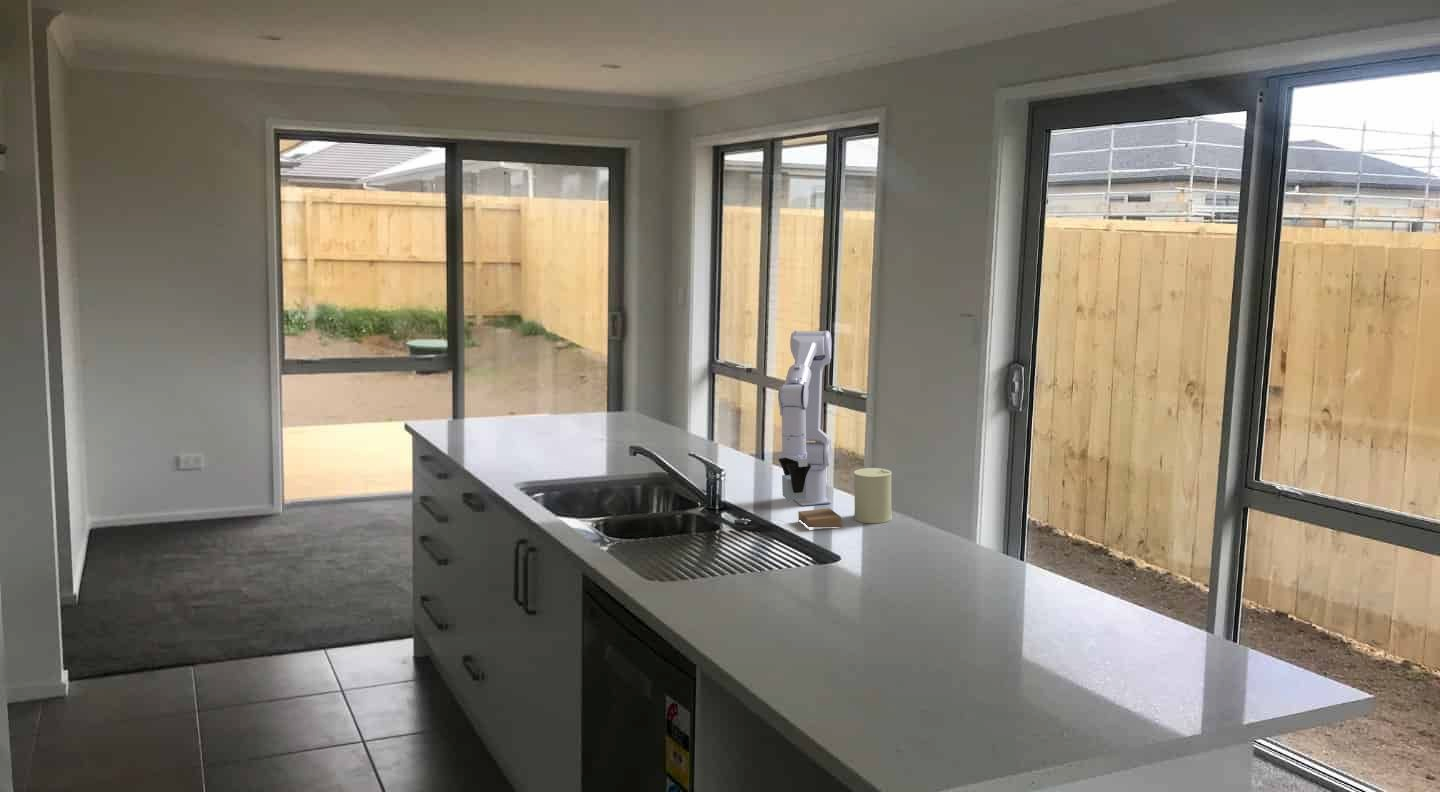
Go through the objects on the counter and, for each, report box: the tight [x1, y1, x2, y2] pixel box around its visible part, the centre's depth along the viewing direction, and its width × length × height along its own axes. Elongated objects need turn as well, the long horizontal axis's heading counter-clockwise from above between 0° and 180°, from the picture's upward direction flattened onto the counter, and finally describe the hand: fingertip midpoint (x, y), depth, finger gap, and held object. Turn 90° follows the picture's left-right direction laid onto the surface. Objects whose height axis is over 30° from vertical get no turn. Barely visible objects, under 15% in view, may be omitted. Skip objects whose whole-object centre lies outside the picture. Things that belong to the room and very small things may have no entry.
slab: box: [797, 507, 842, 528], centre depth 273 cm, size 8×8×3 cm
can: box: [853, 467, 893, 524], centre depth 276 cm, size 9×9×12 cm
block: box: [781, 474, 806, 501], centre depth 272 cm, size 4×4×5 cm
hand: (795, 489), depth 273 cm, fingers closed on block, 4 cm apart
